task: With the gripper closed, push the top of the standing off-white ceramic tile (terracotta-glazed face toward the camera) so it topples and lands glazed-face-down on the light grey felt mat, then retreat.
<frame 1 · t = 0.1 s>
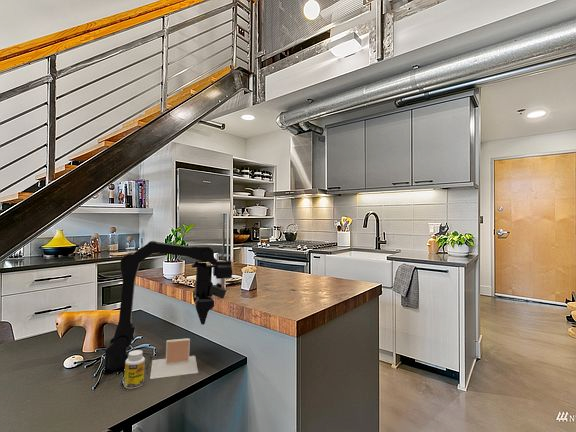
hand: (201, 320, 117), 15 cm above the table, fingers open, 9 cm apart
tile: (177, 362, 113), resting on mat
mat: (174, 367, 110), on the table
supplement bottle: (133, 385, 97), on the table
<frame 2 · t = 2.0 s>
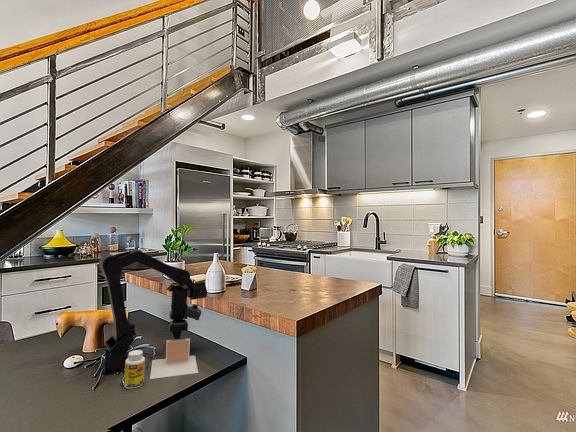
hand: (177, 341, 121), 5 cm above the table, fingers closed
nothing on the table moved.
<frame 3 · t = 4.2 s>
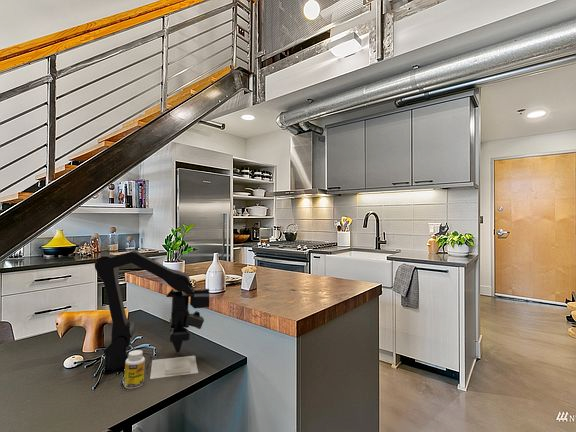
hand: (177, 352, 112), 5 cm above the table, fingers closed
tile: (177, 360, 112), point 1 cm above the table, tilted 90°, touching mat
everything else where it was.
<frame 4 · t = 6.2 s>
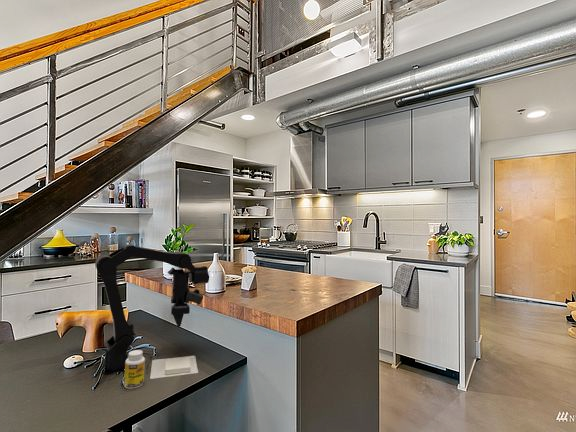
hand: (178, 326, 119), 11 cm above the table, fingers closed
nothing on the table moved.
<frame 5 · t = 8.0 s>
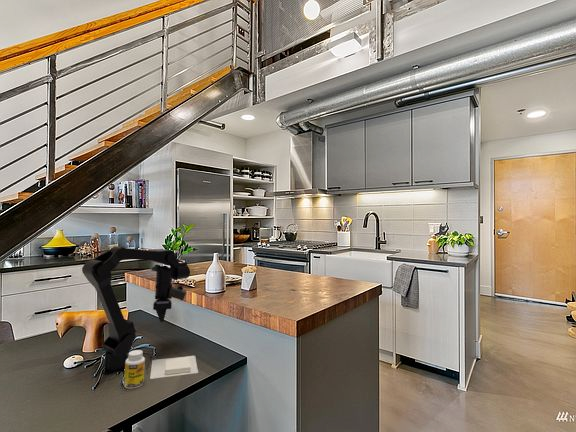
hand: (161, 321, 122), 12 cm above the table, fingers closed
nothing on the table moved.
at the end: tile tilted 90°; tile inside the target area (4.1 cm from its centre), point 1.3 cm above the table; the gripper is holding nothing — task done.
